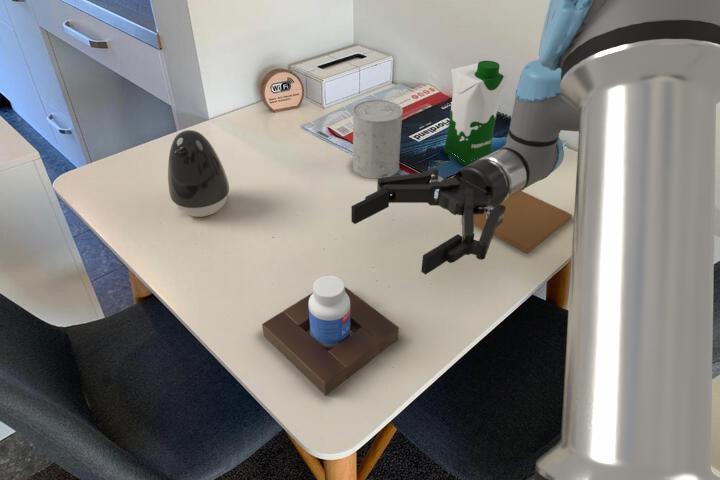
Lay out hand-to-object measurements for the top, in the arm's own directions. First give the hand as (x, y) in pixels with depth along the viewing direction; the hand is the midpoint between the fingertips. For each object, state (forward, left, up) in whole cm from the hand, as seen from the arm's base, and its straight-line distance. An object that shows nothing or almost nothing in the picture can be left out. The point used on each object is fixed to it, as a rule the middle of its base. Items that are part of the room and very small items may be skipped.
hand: (386, 238), depth 68 cm
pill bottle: (-3, +9, -13) cm, 16 cm away
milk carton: (+35, -34, -12) cm, 50 cm away
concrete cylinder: (+37, -14, -12) cm, 41 cm away
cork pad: (+11, -31, -12) cm, 35 cm away
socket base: (-3, +9, -12) cm, 16 cm away
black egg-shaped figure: (+34, +21, -12) cm, 42 cm away
